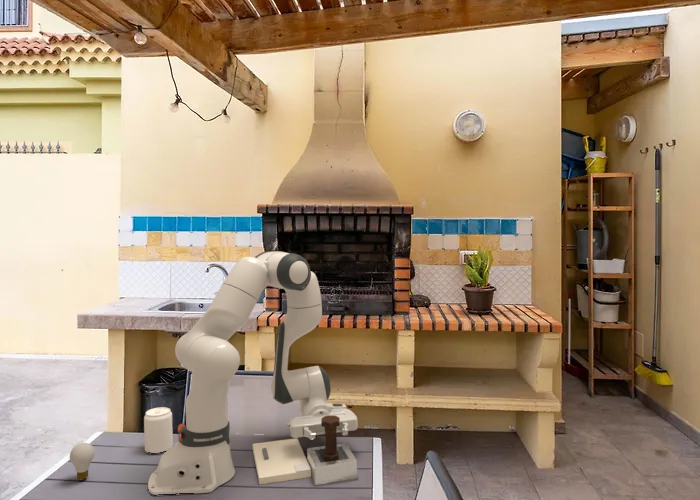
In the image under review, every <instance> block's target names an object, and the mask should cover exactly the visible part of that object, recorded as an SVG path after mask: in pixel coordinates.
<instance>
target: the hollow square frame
mask: <svg viewBox="0 0 700 500" xmlns="http://www.w3.org/2000/svg"><path fill="white" fill-rule="evenodd" d="M325 451H326V450H325V445H322V446H314V447H308V448H306V456H307V457H306V460H307V462H308V463H309V466H310V468H311V478H312V480H313V483H314V485H315V486H320V485H327V484H331V483H332V484H333V483H341V482H346V481H351V480H358V460H357V459H356V457H355V455H354V454H353V452H352V451H351V449H350V447H349V446H348V443H343V442H342V443H337V451H338V452H339V460H336V461H329V462H325V461H324V460H323V453H324V452H325Z"/></svg>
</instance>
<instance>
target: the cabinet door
mask: <svg viewBox="0 0 700 500" xmlns="http://www.w3.org/2000/svg"><path fill="white" fill-rule="evenodd" d="M252 452H253V453H252V454H253V460H254V465H255V469H256V475H257V479H258V484H259V486H260V485H267V484H273V483H274V484H275V483H280V482H286V481H292V480H299V479H307V478H312V476H311V468H310V466H309V463H308V462H307V457H306V456H305V453H304V450H303V448H302V445H301V443H300V442H299V437H298V438H288V439H287V438H286V439H279V440H271V441H266V442H265V441H264V442H258V443H257V442H255V443H252Z"/></svg>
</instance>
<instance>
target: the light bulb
mask: <svg viewBox="0 0 700 500" xmlns="http://www.w3.org/2000/svg"><path fill="white" fill-rule="evenodd" d="M94 456H95V448H94V446H93V445H92V444H90V443H89V442H80V443H78V444H76V445H74V447H73V448H72V449H71V450H70V452H69V460H70V462H71V464H72V465H73V466H74V469H75V472H76V478H77V479H78V480H79V479H84V478H86V479H87V478H89V469H90V465H91V462H92V461H93V459H94Z"/></svg>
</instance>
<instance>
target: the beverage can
mask: <svg viewBox="0 0 700 500" xmlns="http://www.w3.org/2000/svg"><path fill="white" fill-rule="evenodd" d="M143 425H144V426H143V431H144V433H143V434H144V436H143V437H144V451H145V452H146V451H147V452H146V453H148V452H151V453H157V452H163V451H166V450H168V449H169V448H171V447H172V445H174V442H173V441H174V440H173V439H174V438H173V435H174V434H173V412H172V411H171V408H169V407H165V406H161V407H155V408H151V409H148V410H146V411H145V415H144V417H143ZM151 453H150V454H151ZM163 453H164V452H163Z"/></svg>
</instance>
